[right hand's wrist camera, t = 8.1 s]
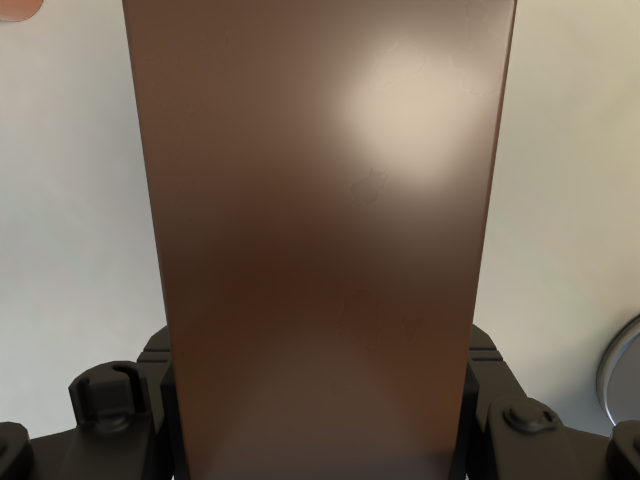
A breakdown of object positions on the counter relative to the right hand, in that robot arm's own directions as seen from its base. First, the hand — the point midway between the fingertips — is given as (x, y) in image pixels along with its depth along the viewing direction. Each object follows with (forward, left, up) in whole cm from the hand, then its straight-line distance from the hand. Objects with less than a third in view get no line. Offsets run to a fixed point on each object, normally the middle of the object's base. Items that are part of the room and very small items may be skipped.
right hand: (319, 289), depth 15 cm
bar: (0, -10, 0) cm, 10 cm away
